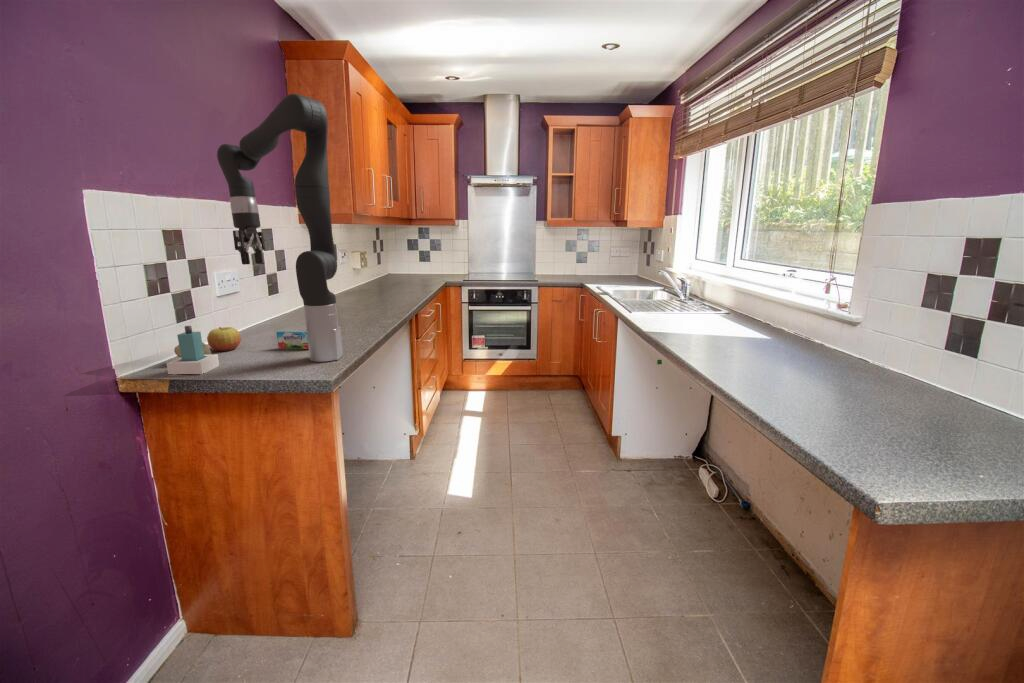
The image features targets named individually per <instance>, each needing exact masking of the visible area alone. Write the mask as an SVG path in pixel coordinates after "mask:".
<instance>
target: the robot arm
mask: <svg viewBox="0 0 1024 683" xmlns="http://www.w3.org/2000/svg"><path fill="white" fill-rule="evenodd" d="M328 120H329V119H328V114H327V110H326V107H325V105H324V104H323V103H322V102H320V101H319V100H317V99H314V98H311V97H309V96H305V95H301V94H299V93H291V94H288V95H286V96H285V97H283V98H282V100H280V102H279V103H278V104H277V105H276V106H275V108H273V110H272V111H271V112H270V113H269V114H268V116H267V117H266V118H265V119H264V120H263V121H262V122H261V123H260V124H259V125H258V126H257V127H255V128H254V129H253V130H251V131H250V132H248V133H247V134H245V135H244V136H243V137H242V138H240V141H239V143H238V144H239V145H234V144H229V143H224V144H221V145H220V146H219V147H218V148H217V152H216V158H217V162H218V165H219V166H220V169H221V171H222V174H223V175H224V178H225V180H226V183H227V186H228V193H229V198H230V200H229V201H230V210H231V215H232V216H231V218H232V224H233V227H234V228H235V229H238V230H233V231H232V236H233V244H234V250H235V251H237V252H238V253H240V260H241V264H242V265H250V264H251V260H250V259H251V258H250V254H249V249H250V248H252V250H253V254H254V261H255V264H257V265H259V264H264V259H263V252H264V251H265V250H266V245H265V239H264V233H263V231H258V230H257V228H261V220H260V219H261V218H260V214H259V207H258V206H259V205H258V203H257V199H256V192H255V185H254V182H253V180H252V179H250V178H249V177H246V176H243V175H242V173H241V171H245V172H246V171H247V172H249V171H252V170H254V169H255V168H256V167H257V166H258V164H259V163H260V161H261V160H262V158H263V157H266V156H267V155H268V154H270V153H271V152H273V151H274V150H275V149H276V148H277V146H278V144H279V141H280V136H281V135H282V134H283V133H286V132H288V131H292V130H295V131H298V132H303V133H305V147H306V148H305V154H304V158H303V160H302V162H301V164H300V165H299V167H298V170H297V173H296V174H295V178H294V188H295V190H294V191H295V192H294V193H295V201H296V206H297V209H298V212H299V214H300V215H301V218H302V220H303V222H304V225H305V226H306V228H307V230H308V231H307V232H308V235H309V242H310V243H309V245H310V250H306V251H302V252H301V253H300V254H299V255H298V256H297V259H296V262H295V273H296V280H297V286H298V292H299V295H300V297H301V299H302V302H303V310H304V319H305V320H304V321H305V328H306V330H305V331H307V339H308V348H309V350H308V356H309V360H310V361H311V362H315V363H316V362H317V363H319V362H322V363H323V362H330V361H338V360H339V359H340V358H342V357H343V355H344V351H343V340H342V329H341V326H340V325H339V320H338V318H339V317H338V310H337V298H336V294H335V293H333V292H332V291H330V290H329V288H328V282H327V281H329V280H331V279H332V278H333V277H334V276H335V275H336V274H337V270H338V261H337V254H336V249H335V242H334V237H333V226H332V223H333V222H332V213H331V212H332V211H331V195H330V183H329V172H328V170H329V169H328V168H329V167H328V122H329V121H328Z"/></svg>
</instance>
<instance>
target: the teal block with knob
mask: <svg viewBox="0 0 1024 683" xmlns="http://www.w3.org/2000/svg"><path fill="white" fill-rule="evenodd" d="M176 335H177V340H178V341H177V342H178V345H179V347H180V353H181V359H182V361H198V360H201V359H203V358H205V356H204V350H203V344H202V342H203V340H202V339H203V338H202V332H201V331H193V329H192V325H185V326H184V332H182V333H178V334H176Z"/></svg>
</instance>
